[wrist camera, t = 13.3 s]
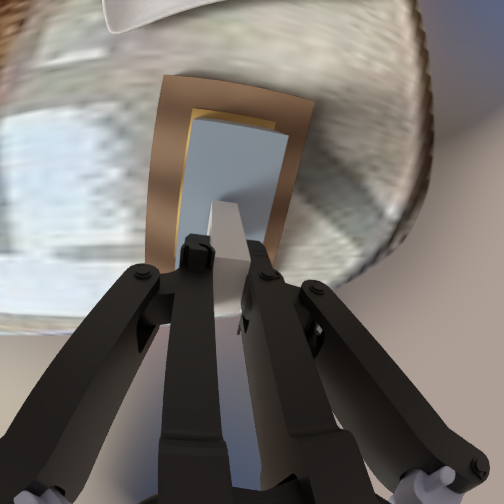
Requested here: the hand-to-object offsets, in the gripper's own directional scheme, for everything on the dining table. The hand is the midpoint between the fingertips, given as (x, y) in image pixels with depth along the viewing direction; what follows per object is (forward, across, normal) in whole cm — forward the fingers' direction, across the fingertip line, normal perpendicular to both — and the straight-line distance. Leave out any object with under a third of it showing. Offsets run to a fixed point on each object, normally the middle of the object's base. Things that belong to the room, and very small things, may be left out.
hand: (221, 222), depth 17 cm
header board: (+9, 0, 0) cm, 9 cm away
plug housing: (+6, 0, 0) cm, 6 cm away
